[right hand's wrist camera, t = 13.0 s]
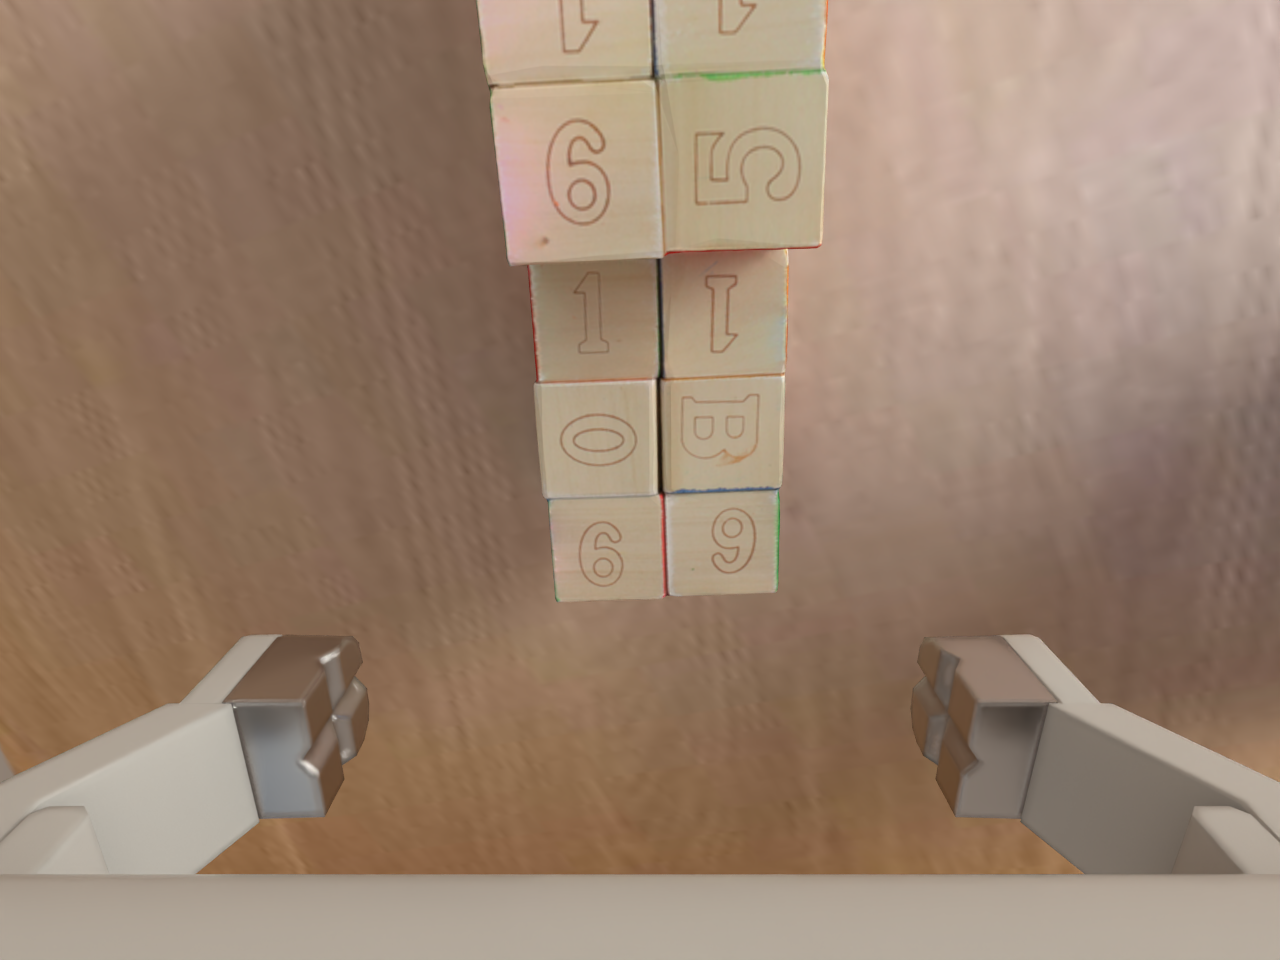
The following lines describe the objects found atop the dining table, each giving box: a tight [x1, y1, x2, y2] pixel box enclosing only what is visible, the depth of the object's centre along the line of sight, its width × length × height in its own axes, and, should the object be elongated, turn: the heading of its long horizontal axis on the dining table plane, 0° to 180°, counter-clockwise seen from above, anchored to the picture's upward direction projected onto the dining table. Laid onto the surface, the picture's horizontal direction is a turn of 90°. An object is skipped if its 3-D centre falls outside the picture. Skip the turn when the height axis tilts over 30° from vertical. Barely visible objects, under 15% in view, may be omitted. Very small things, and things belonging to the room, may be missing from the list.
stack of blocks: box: [476, 0, 829, 602], centre depth 19 cm, size 21×6×12 cm, turn 2°
